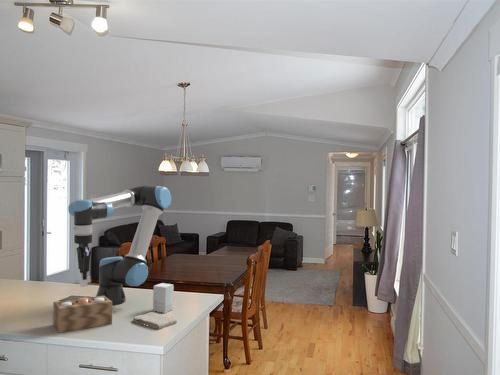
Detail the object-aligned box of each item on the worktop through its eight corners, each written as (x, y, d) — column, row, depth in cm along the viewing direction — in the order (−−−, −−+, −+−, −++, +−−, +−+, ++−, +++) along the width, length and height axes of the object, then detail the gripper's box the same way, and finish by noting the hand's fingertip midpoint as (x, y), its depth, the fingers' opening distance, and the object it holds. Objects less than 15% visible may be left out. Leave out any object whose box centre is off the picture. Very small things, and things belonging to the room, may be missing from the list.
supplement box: (173, 309, 226) (174, 284, 225) (164, 313, 219) (165, 287, 219) (161, 307, 229) (162, 282, 229) (152, 311, 222) (153, 285, 222)
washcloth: (150, 316, 216) (150, 309, 215) (178, 324, 205) (178, 317, 205) (130, 322, 206) (130, 315, 206) (159, 330, 196) (159, 323, 196)
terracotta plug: (86, 317, 203) (86, 296, 203) (89, 319, 199) (89, 299, 199) (76, 318, 200) (76, 298, 200) (78, 321, 197) (79, 300, 197)
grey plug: (70, 321, 199) (70, 301, 199) (72, 324, 195) (73, 303, 195) (59, 323, 196) (59, 302, 196) (61, 326, 193) (62, 305, 193)
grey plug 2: (102, 316, 207) (102, 297, 207) (105, 319, 203) (105, 299, 203) (92, 318, 204) (92, 298, 204) (95, 320, 201) (95, 300, 201)
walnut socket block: (103, 316, 211) (104, 295, 211) (112, 324, 201) (112, 301, 201) (53, 324, 198) (53, 301, 198) (59, 332, 189) (59, 308, 188)
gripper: (70, 233, 206) (71, 284, 208) (79, 236, 196) (79, 290, 197) (87, 231, 211) (87, 281, 212) (96, 235, 200) (97, 288, 202)
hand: (83, 286), depth 205 cm, fingers closed
